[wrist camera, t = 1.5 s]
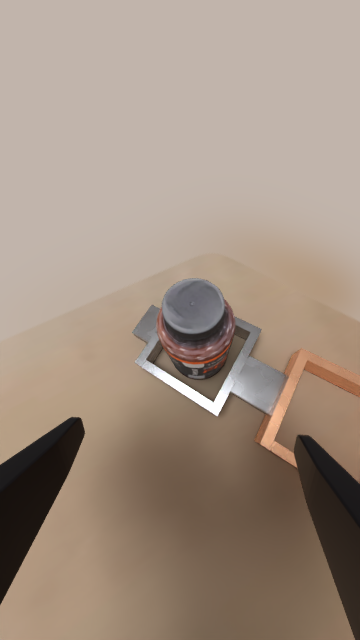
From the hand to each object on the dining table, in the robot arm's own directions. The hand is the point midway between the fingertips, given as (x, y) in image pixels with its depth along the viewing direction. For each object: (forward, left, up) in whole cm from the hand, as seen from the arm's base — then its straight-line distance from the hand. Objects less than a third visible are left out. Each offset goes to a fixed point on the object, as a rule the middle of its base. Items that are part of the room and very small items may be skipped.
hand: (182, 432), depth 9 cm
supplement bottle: (+6, -3, -13) cm, 15 cm away
